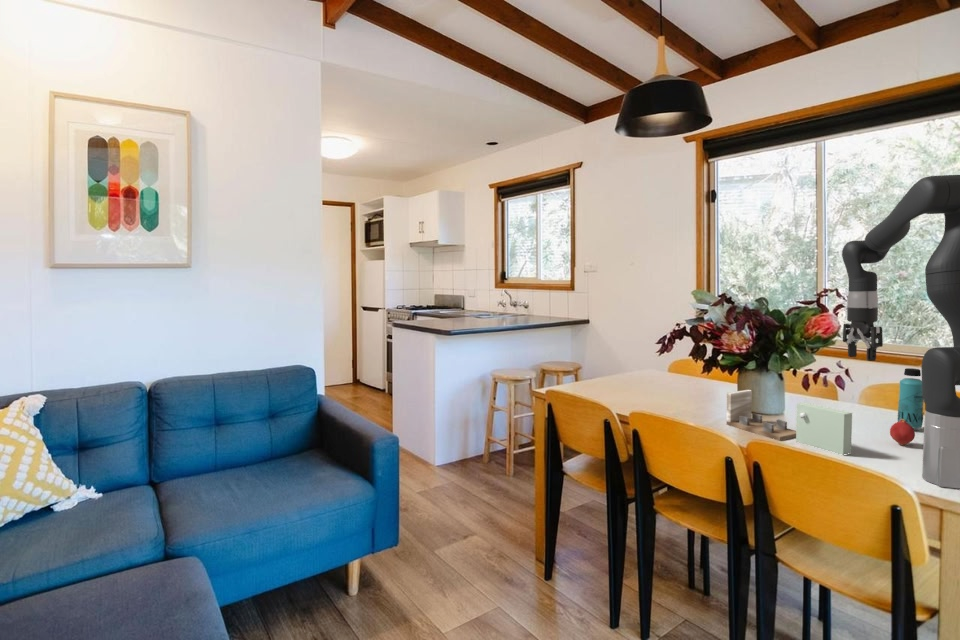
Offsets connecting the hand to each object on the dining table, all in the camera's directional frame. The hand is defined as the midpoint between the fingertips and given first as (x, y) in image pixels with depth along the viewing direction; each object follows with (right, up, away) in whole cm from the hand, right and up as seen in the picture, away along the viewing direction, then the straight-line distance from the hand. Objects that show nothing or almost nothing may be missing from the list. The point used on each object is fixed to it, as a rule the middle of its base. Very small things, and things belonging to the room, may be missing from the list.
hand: (861, 358), depth 158 cm
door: (-15, -26, -5) cm, 31 cm away
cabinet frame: (-23, -25, +13) cm, 36 cm away
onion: (+8, -26, -5) cm, 27 cm away
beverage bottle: (+23, -24, +9) cm, 34 cm away
